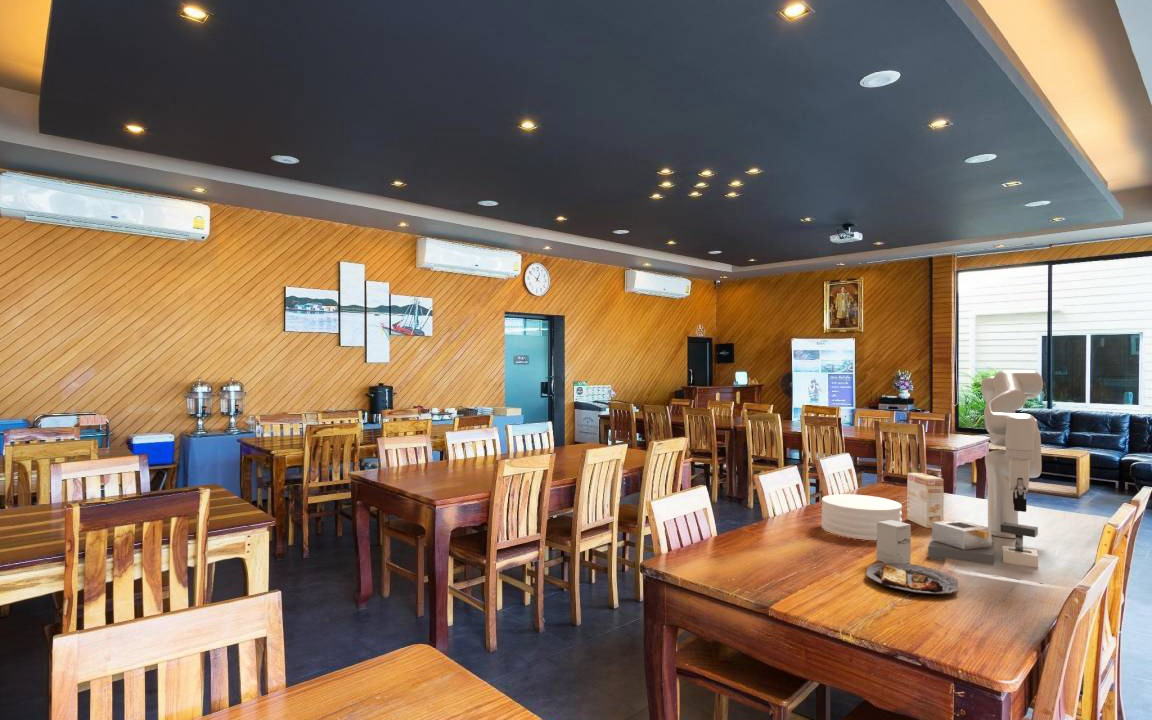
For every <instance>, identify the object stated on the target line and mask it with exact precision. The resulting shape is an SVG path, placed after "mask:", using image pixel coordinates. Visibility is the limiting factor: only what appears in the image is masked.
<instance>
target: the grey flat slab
mask: <svg viewBox="0 0 1152 720" xmlns="http://www.w3.org/2000/svg"><path fill="white" fill-rule="evenodd" d="M994 545H995V543H994V541H991V547H983V548H975V549H966V550H963V549H960V548H957V547H954V546H950V545H947V544H944V543H941V542H937V541H934V540H932V536H931V537H930V541H929V542H928V545H927V558H928V559H930V560H931V559H932V560H940V561H944V562H945V561H946V559H952V560H957V561H965V562H970V563H971V562H972V563H977V564H984V565H989V566H994V565H995V563H994V562H995V561H994V560H995V557H994V554H995V551H994V549H995V548H994Z"/></svg>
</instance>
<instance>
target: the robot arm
mask: <svg viewBox="0 0 1152 720" xmlns="http://www.w3.org/2000/svg"><path fill="white" fill-rule="evenodd" d="M1043 388H1044V381H1043V377H1042V375H1041V374H1040V373H1039V372H1037V371H1035V370H1016V369H1015V370H1012V369H1011V370H1002V371H999V372H997V373H996V374H995V375H993V376H987V377H984V378H983V379H982V380H981V383H980V390H981V394H982V398H983V400H984V402H985V405H986V406H985V408H984V409H983V410H984V411H983V419H984V425H985V429H986V431H987V432H988V437H989V438H988V439H989V442H990V444H992V445H993V446H995V447H1000V448H1005V450H1003V449H1002V450H1001V449H1000V450H998V449H997V450H991V451H989V452H987V453H986V454H985V457H984V464H985V469H986V475H987V476H986V479H987V527H989V528H991V536H994V537H1000V538H1005V539H1006V538H1009V539H1015V534H1011V533H1004V532H1001V524H1002V523H1003V522H1007V523H1013V524H1019V512H1022V513H1026V512H1027V497H1026V492H1028V491H1029V484H1030V483H1029V482H1030V479H1037V478H1038V477H1040V475H1041V474H1042V468H1043V467H1042V463H1043V461H1042V440H1041V439H1042V438H1041V431H1040V429H1039V427H1038V420H1037V419H1036V418H1035V416H1033V415H1032V414H1029V413H1016V411H1017V410H1019V409H1022V408H1023V407H1024V406H1025V404H1026V402H1027V401H1026V400H1033V399H1035V398H1036V397H1038V396H1039V395H1040V394H1041V393H1042V391H1043Z"/></svg>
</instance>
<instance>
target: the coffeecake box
mask: <svg viewBox="0 0 1152 720" xmlns="http://www.w3.org/2000/svg"><path fill="white" fill-rule="evenodd" d="M906 476H907V477H906V478H907V479H906V482H907V485H906V487H907V488H906V489H907V490H906V491H907V492H906V494H907V499H906V500H907V501H906V508H907V510H906V514H907V516H906V518H907V520H909V521H911V522H913V523H915V524H917V525H919V526H921V527H924V528H926V529H932V522H940V521H944V507H945V506H944V491H945V490H944V486H945V485H944V483H945V482H944V480H945V479H944V478H941V477H938V476H935V475H930V474H927V473H925V472H907V475H906Z"/></svg>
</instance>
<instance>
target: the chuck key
mask: <svg viewBox="0 0 1152 720" xmlns="http://www.w3.org/2000/svg"><path fill="white" fill-rule="evenodd" d="M1038 529H1039V528H1038V526H1032V525H1028V524H1027V525H1025V524H1019V523H1018V524H1013V523H1007V522H1003V523H1002V524H1001V532H1004V533H1011V534H1015V538H1014V540H1015V543H1014V544H1015V545H1014V547H1015V551H1018V552H1023V548H1024V536H1025V537H1029V538H1030V537H1031V538H1036V537H1038V535H1039V534H1038V533H1039V530H1038ZM1011 551H1012V550H1011Z"/></svg>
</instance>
